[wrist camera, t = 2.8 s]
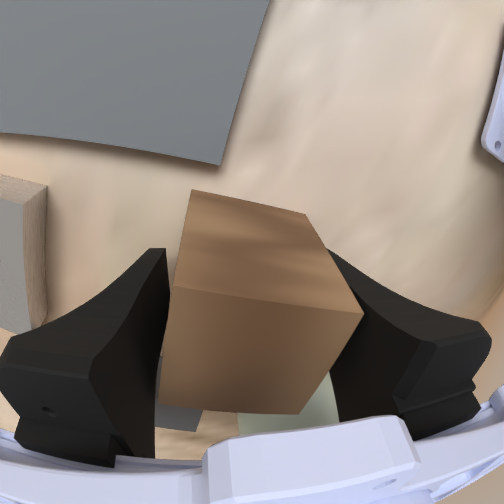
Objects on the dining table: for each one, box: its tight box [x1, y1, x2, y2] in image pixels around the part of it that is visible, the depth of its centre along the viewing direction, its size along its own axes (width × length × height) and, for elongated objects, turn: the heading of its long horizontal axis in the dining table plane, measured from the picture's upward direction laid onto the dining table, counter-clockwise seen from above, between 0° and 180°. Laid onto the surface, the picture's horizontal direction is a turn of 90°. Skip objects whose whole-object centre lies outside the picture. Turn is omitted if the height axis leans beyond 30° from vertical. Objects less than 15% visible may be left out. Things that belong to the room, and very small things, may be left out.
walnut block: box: [158, 190, 364, 415], centre depth 10 cm, size 4×4×6 cm
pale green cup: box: [237, 372, 339, 436], centre depth 16 cm, size 6×6×5 cm
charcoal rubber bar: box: [155, 357, 203, 432], centre depth 15 cm, size 8×3×3 cm, turn 74°
